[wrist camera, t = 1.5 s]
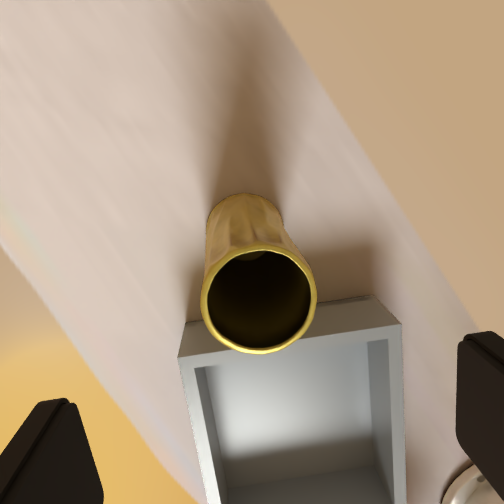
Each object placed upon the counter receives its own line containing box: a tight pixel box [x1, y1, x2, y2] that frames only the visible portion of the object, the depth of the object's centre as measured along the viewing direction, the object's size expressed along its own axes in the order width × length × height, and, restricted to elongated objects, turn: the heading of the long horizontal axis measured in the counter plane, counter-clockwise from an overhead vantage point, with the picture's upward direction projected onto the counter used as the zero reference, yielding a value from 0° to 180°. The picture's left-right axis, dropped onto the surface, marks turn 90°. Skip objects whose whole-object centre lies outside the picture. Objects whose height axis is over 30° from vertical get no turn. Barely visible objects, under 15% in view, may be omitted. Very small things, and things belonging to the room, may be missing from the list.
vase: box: [200, 193, 317, 355], centre depth 24 cm, size 6×6×14 cm
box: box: [177, 295, 407, 504], centre depth 32 cm, size 16×18×6 cm
